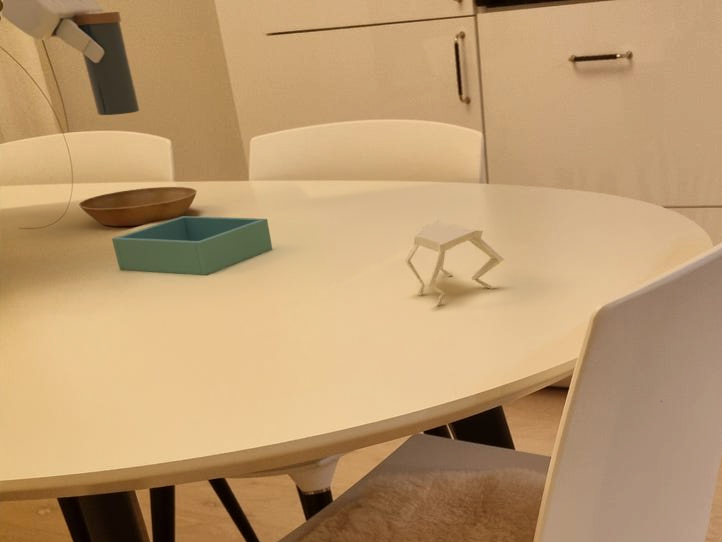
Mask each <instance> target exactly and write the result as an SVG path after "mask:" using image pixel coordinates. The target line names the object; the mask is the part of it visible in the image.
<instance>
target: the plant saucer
mask: <svg viewBox="0 0 722 542" xmlns="http://www.w3.org/2000/svg"><path fill="white" fill-rule="evenodd" d="M197 192H198V191H197V189H195V188H192V187H184V186H159V187H157V186H156V187H145V188H136V189H128V190H122V191H121V190H120V191H116V192H110V193H105V194H101V195H95V196H92V197H89V198H86V199H84V200H83V201H81V202H79V204H78V207H80V208H81V209H82V210H83V211H84V212H85V213H86V214H87V215H89V216H90V217H91V218H92V219H93V220H95V221H96V222H98V223H99V224H102V225H104V226H107V227H108V226H109V227H137V226H145V225H148V224H151V223H155V222H159V221H161V220H167V219H171V218H175V217H182V216H184V215H185V214H186V213H187V212H188V211H189V209H190V207H191V205H192V204H193V202H194V200H195V198H196V195H197Z"/></svg>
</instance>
